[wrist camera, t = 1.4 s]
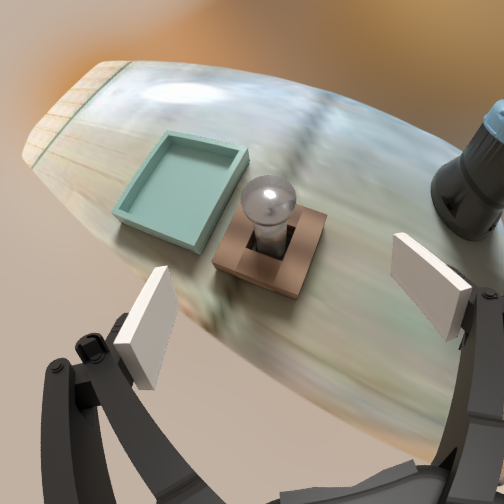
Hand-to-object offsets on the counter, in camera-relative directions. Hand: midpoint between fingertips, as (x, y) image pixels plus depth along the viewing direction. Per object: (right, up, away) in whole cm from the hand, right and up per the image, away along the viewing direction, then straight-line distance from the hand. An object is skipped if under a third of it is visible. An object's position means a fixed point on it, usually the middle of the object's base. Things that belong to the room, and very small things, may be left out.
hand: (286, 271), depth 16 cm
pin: (+1, +2, +25) cm, 25 cm away
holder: (+1, +2, +25) cm, 25 cm away
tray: (-13, +11, +30) cm, 34 cm away
